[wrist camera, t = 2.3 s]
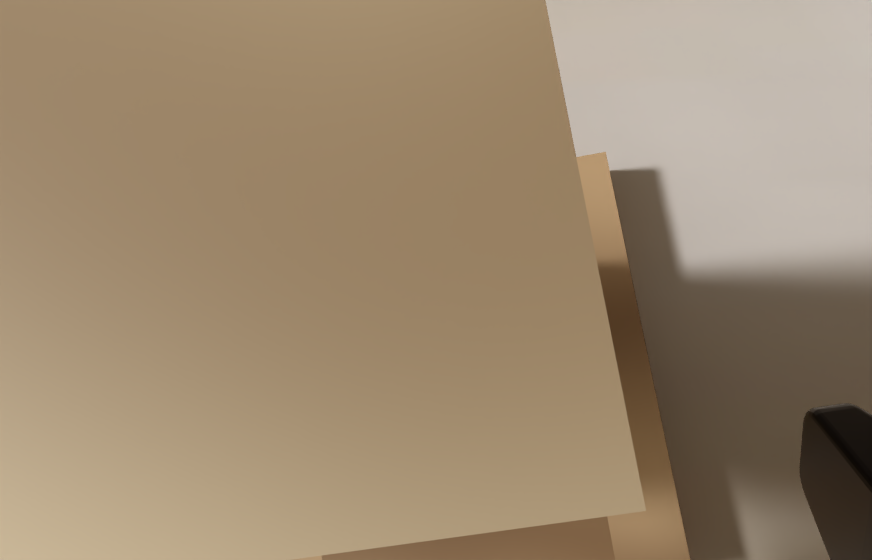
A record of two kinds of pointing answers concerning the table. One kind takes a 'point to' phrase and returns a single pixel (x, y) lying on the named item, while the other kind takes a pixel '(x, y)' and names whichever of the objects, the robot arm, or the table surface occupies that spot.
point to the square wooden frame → (661, 522)
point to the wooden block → (294, 281)
